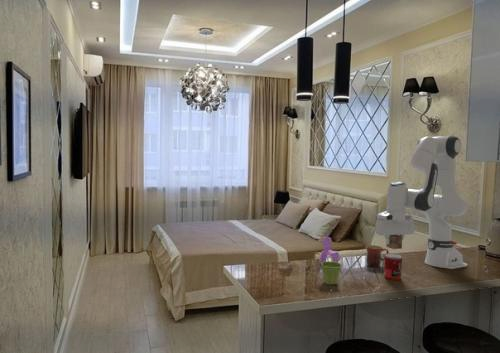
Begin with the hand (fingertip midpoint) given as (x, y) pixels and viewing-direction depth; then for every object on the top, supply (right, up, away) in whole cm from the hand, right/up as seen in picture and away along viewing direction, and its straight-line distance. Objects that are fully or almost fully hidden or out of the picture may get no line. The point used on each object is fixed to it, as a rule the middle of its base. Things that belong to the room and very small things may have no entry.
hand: (394, 243), depth 189 cm
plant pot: (-33, -17, -9) cm, 38 cm away
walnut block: (0, -2, 0) cm, 2 cm away
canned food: (0, -17, +1) cm, 17 cm away
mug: (-2, -16, +22) cm, 27 cm away
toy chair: (-28, -15, +21) cm, 38 cm away
